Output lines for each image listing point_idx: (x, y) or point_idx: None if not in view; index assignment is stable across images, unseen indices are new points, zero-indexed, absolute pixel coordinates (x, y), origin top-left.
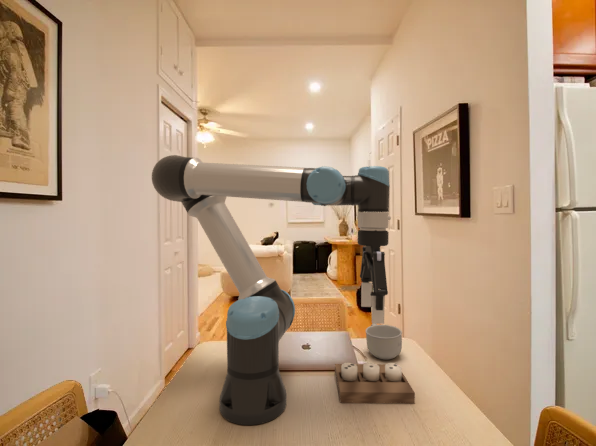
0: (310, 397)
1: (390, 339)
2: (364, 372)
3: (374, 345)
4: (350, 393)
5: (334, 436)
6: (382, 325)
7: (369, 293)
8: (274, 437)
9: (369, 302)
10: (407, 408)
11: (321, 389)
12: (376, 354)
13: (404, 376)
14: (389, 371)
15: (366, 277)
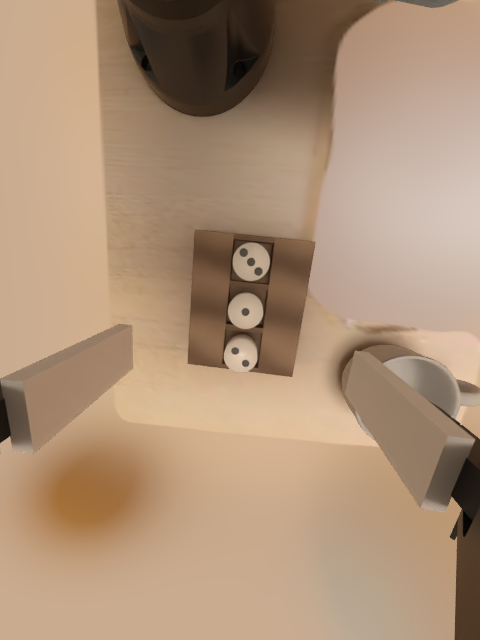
0: (220, 173)
1: None
2: (241, 293)
3: None
4: (194, 250)
5: (113, 203)
6: (451, 417)
7: (379, 427)
8: (106, 92)
9: (354, 396)
10: (180, 340)
11: (247, 201)
12: None
13: None
14: (229, 343)
15: (476, 524)
